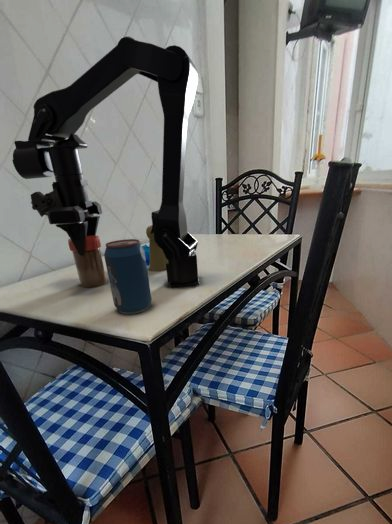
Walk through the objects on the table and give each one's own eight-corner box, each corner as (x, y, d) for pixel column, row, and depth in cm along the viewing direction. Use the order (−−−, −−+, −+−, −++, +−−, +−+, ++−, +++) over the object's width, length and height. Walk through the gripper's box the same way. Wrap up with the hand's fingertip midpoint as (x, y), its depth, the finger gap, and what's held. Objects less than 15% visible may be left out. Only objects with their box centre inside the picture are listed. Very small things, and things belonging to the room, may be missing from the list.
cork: (168, 270, 82) (163, 226, 77) (146, 270, 83) (140, 227, 78) (174, 264, 87) (169, 222, 82) (153, 265, 89) (148, 223, 83)
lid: (75, 246, 75) (73, 236, 74) (104, 244, 75) (102, 234, 74) (65, 252, 69) (63, 241, 68) (96, 250, 69) (94, 239, 68)
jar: (108, 278, 79) (100, 237, 74) (104, 286, 74) (94, 241, 69) (84, 280, 79) (74, 239, 74) (77, 288, 73) (66, 244, 69)
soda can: (157, 302, 61) (148, 237, 55) (144, 315, 55) (133, 245, 49) (125, 301, 63) (113, 239, 57) (109, 314, 57) (94, 246, 51)
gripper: (48, 178, 73) (66, 247, 81) (8, 178, 57) (35, 264, 64) (95, 175, 73) (108, 243, 81) (68, 173, 57) (88, 260, 64)
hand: (86, 252), depth 73 cm, fingers closed on lid, 7 cm apart
